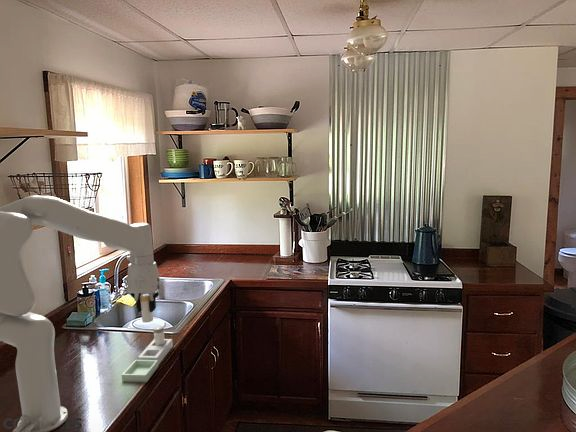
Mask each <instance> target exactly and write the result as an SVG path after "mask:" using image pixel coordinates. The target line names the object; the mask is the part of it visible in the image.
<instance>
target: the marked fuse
mask: <svg viewBox="0 0 576 432" xmlns="http://www.w3.org/2000/svg"><path fill="white" fill-rule="evenodd" d="M149 301H150V296H149V293H143V294H141V296H140V302H141V312H140V313H141V321H142V323H150V322H153V321H154V314H153V312H150V309H149Z"/></svg>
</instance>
